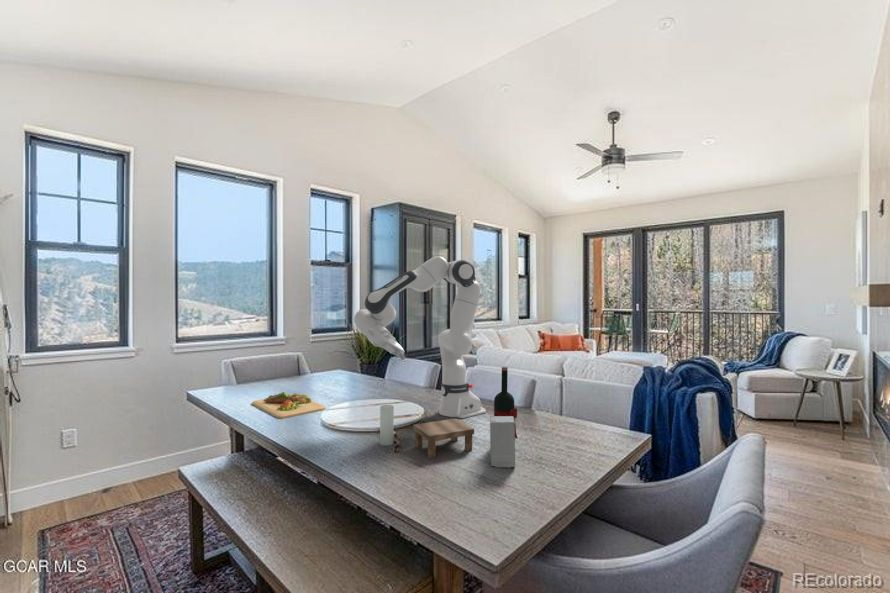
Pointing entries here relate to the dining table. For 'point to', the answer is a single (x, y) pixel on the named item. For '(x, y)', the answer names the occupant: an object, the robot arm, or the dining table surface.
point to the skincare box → (502, 441)
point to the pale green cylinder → (386, 424)
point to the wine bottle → (505, 400)
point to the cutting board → (288, 405)
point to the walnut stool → (442, 433)
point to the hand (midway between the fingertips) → (398, 355)
